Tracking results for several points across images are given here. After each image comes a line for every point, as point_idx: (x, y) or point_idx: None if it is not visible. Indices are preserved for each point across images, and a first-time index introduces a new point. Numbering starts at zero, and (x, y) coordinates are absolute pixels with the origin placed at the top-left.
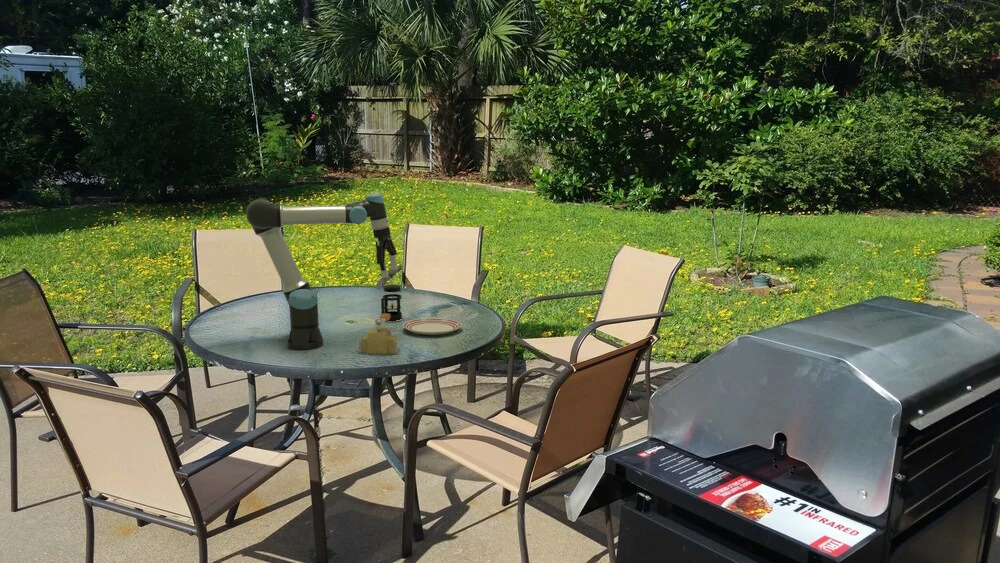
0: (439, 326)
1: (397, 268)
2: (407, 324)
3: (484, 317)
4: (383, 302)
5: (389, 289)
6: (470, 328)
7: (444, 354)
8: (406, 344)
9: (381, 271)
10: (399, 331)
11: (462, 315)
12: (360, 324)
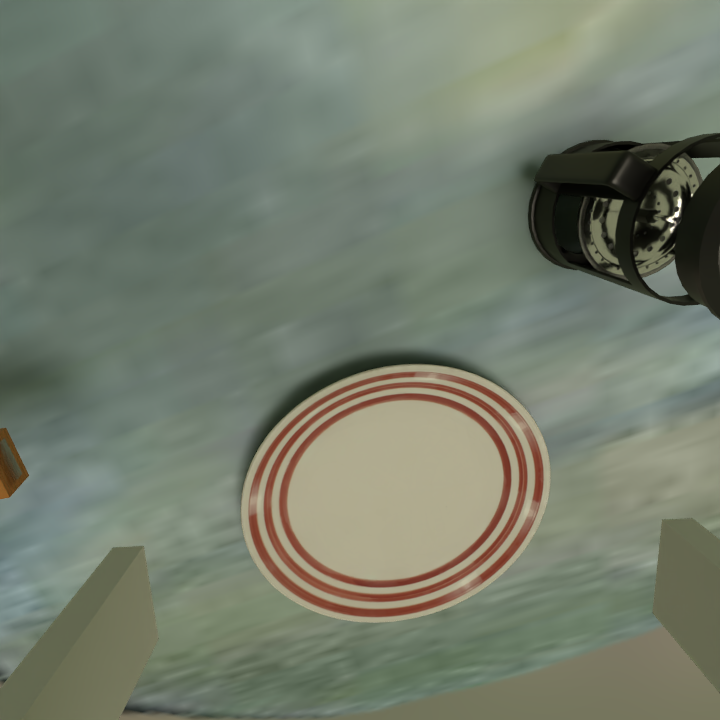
0: (453, 505)
1: (664, 619)
2: (402, 380)
3: (650, 602)
4: (589, 181)
5: (696, 242)
6: (459, 612)
7: None
8: (103, 475)
9: (41, 648)
10: (332, 350)
11: (688, 517)
12: (443, 19)
